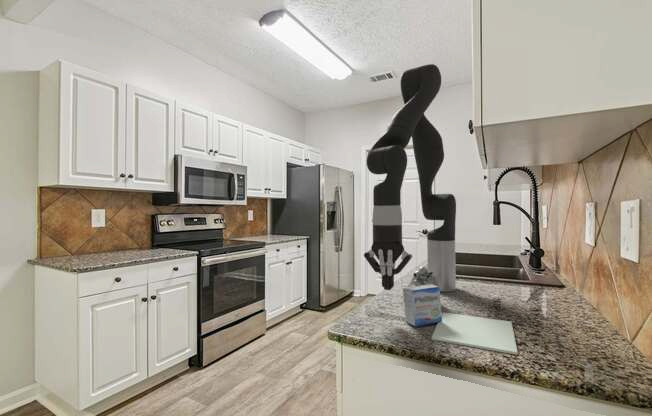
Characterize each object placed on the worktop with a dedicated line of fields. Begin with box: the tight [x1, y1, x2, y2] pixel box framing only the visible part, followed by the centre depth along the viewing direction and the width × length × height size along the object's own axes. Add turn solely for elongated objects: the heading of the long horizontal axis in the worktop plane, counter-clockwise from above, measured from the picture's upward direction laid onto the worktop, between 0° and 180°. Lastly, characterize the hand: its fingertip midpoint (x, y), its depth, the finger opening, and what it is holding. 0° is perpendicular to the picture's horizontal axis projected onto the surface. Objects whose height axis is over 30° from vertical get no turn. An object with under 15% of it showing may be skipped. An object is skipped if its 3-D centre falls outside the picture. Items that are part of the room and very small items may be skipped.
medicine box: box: [402, 284, 442, 327], centre depth 78 cm, size 8×4×9 cm, turn 106°
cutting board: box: [431, 311, 519, 356], centre depth 72 cm, size 18×16×1 cm
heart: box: [406, 266, 439, 288], centre depth 93 cm, size 10×10×12 cm
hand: (387, 289), depth 82 cm, fingers closed
